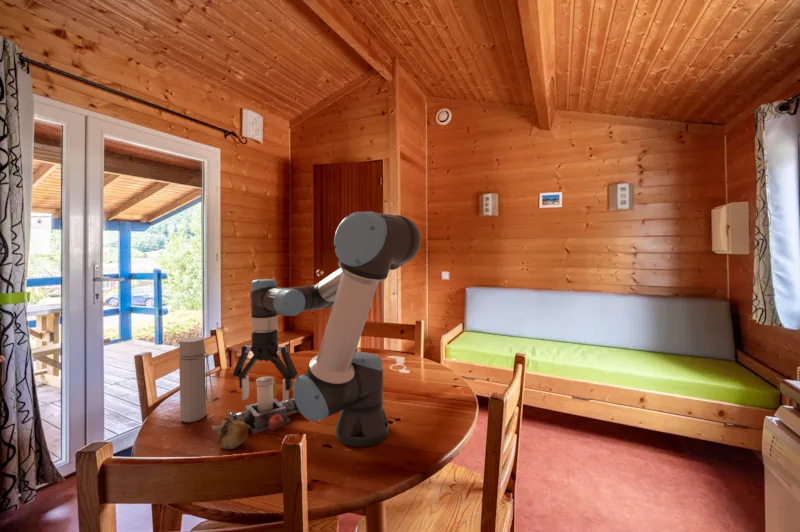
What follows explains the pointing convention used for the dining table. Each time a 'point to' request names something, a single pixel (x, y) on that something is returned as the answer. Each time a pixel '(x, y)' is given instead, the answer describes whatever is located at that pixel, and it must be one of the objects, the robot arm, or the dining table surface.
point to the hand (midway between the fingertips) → (265, 399)
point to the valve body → (266, 416)
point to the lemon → (274, 389)
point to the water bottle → (193, 379)
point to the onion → (231, 433)
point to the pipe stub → (264, 394)
